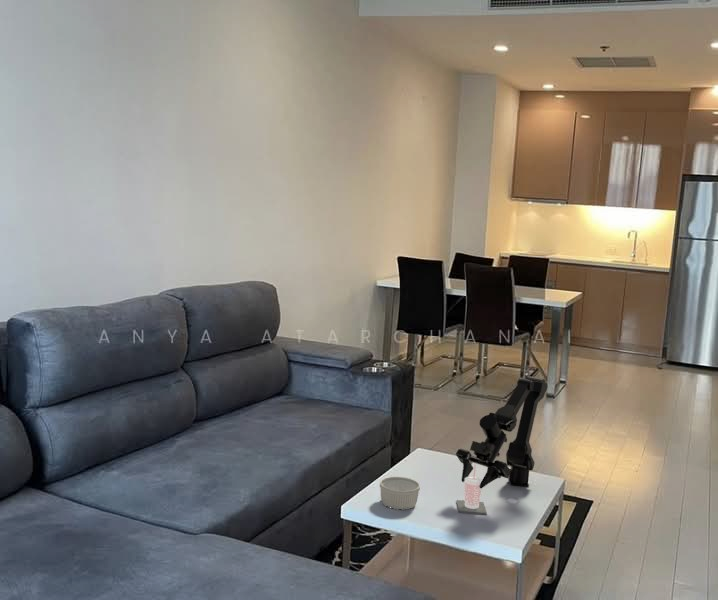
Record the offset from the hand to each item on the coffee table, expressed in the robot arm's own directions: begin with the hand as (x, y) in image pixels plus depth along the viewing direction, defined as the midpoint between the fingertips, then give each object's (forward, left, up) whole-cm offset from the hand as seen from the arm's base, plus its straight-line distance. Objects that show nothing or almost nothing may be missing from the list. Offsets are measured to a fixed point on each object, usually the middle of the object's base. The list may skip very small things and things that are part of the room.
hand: (471, 484), depth 240 cm
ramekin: (+23, 0, -9) cm, 25 cm away
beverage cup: (-1, -1, -8) cm, 8 cm away
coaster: (-1, -1, -8) cm, 8 cm away
